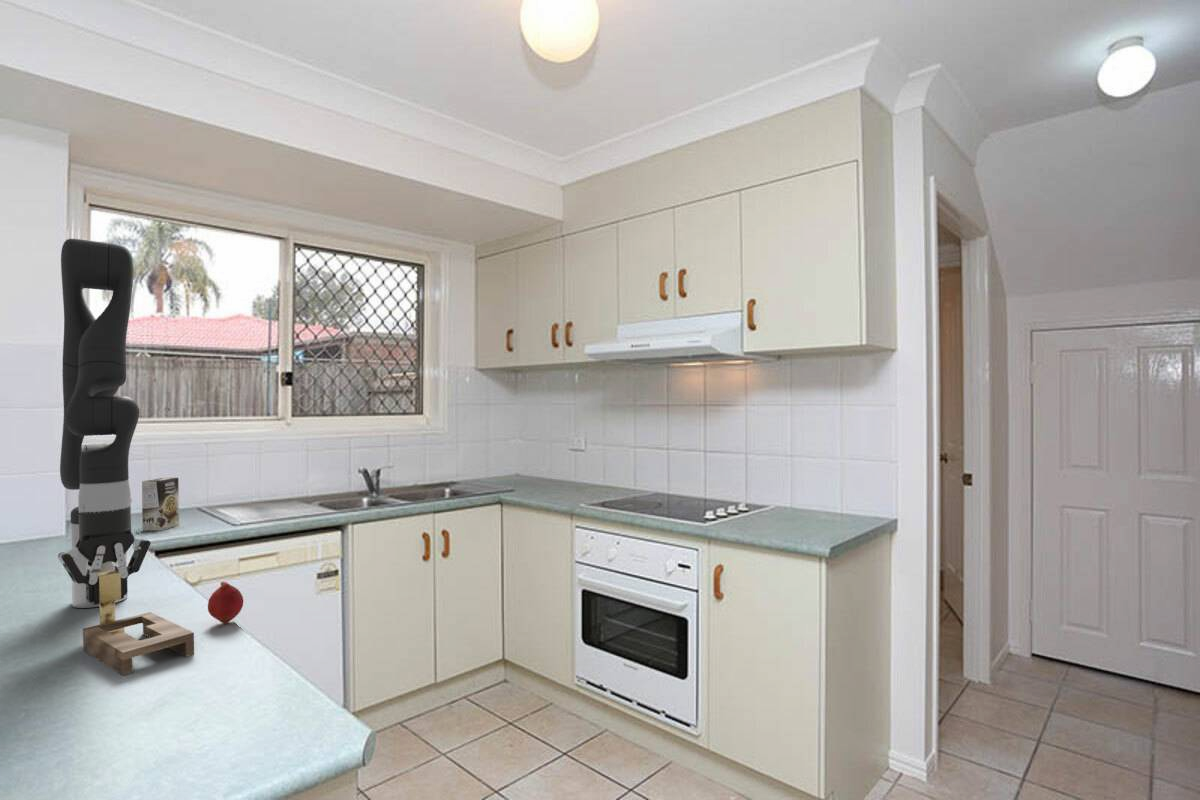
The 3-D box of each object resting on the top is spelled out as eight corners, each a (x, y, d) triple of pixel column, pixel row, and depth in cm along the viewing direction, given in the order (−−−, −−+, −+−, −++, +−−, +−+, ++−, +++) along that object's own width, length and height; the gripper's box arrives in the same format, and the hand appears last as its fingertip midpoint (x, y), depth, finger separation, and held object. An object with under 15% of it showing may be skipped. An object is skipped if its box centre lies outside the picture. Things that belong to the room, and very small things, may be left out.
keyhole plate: (83, 649, 110) (82, 628, 110) (150, 631, 118) (150, 612, 118) (123, 675, 99) (122, 652, 99) (194, 653, 108) (193, 632, 108)
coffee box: (161, 530, 207) (160, 480, 207) (141, 531, 207) (140, 481, 207) (180, 524, 216) (179, 477, 216) (161, 525, 216) (160, 477, 216)
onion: (236, 615, 126) (235, 575, 126) (248, 622, 123) (248, 580, 122) (203, 624, 122) (202, 582, 122) (215, 631, 118) (214, 587, 118)
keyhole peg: (87, 635, 116) (85, 573, 116) (118, 627, 120) (117, 567, 120) (96, 641, 114) (95, 578, 113) (128, 633, 117) (127, 572, 117)
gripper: (142, 499, 125) (143, 587, 125) (49, 510, 113) (51, 608, 113) (158, 502, 120) (159, 594, 120) (62, 514, 109) (65, 616, 109)
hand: (107, 600), depth 117 cm, fingers closed on keyhole peg, 3 cm apart
